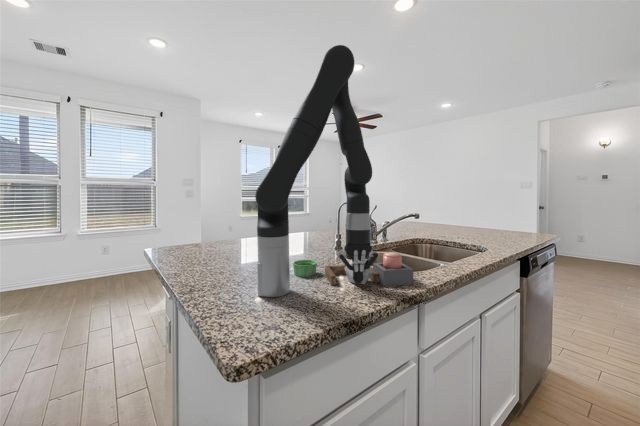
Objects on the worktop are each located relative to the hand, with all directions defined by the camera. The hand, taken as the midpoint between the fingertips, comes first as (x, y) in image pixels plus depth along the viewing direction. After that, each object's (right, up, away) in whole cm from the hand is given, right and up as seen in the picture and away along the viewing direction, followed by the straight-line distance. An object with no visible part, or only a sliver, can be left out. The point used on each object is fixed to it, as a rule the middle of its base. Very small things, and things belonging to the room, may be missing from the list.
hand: (358, 282), depth 87 cm
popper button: (+12, +2, +6) cm, 14 cm away
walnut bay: (-1, -1, +10) cm, 10 cm away
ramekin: (-17, -1, +16) cm, 24 cm away
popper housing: (+12, -1, +6) cm, 14 cm away
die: (+1, -1, +5) cm, 6 cm away
